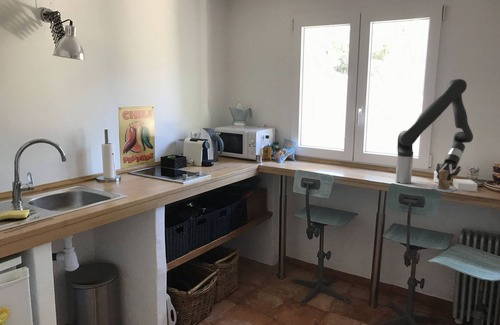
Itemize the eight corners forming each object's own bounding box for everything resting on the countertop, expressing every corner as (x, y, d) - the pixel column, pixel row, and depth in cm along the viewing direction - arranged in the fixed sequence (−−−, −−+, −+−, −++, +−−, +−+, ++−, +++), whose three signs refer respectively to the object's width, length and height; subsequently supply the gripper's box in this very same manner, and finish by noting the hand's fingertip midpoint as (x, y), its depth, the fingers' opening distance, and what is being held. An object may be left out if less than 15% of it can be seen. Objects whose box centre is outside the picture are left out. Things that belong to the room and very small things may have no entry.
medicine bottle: (441, 183, 253) (442, 165, 252) (433, 181, 260) (434, 163, 258) (450, 183, 255) (452, 164, 254) (442, 181, 262) (443, 163, 260)
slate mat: (428, 188, 239) (429, 188, 239) (438, 186, 247) (438, 185, 247) (449, 192, 230) (449, 191, 230) (458, 189, 238) (458, 188, 238)
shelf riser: (458, 190, 237) (458, 183, 236) (452, 185, 250) (453, 178, 249) (476, 191, 234) (477, 184, 233) (470, 186, 247) (470, 179, 247)
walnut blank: (438, 188, 239) (439, 170, 237) (441, 187, 242) (443, 169, 240) (445, 189, 235) (447, 171, 234) (449, 188, 238) (450, 170, 236)
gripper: (440, 152, 245) (429, 173, 240) (464, 154, 234) (453, 177, 229) (443, 159, 250) (432, 181, 244) (467, 162, 239) (457, 185, 233)
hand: (443, 179), depth 236 cm, fingers open, 5 cm apart
